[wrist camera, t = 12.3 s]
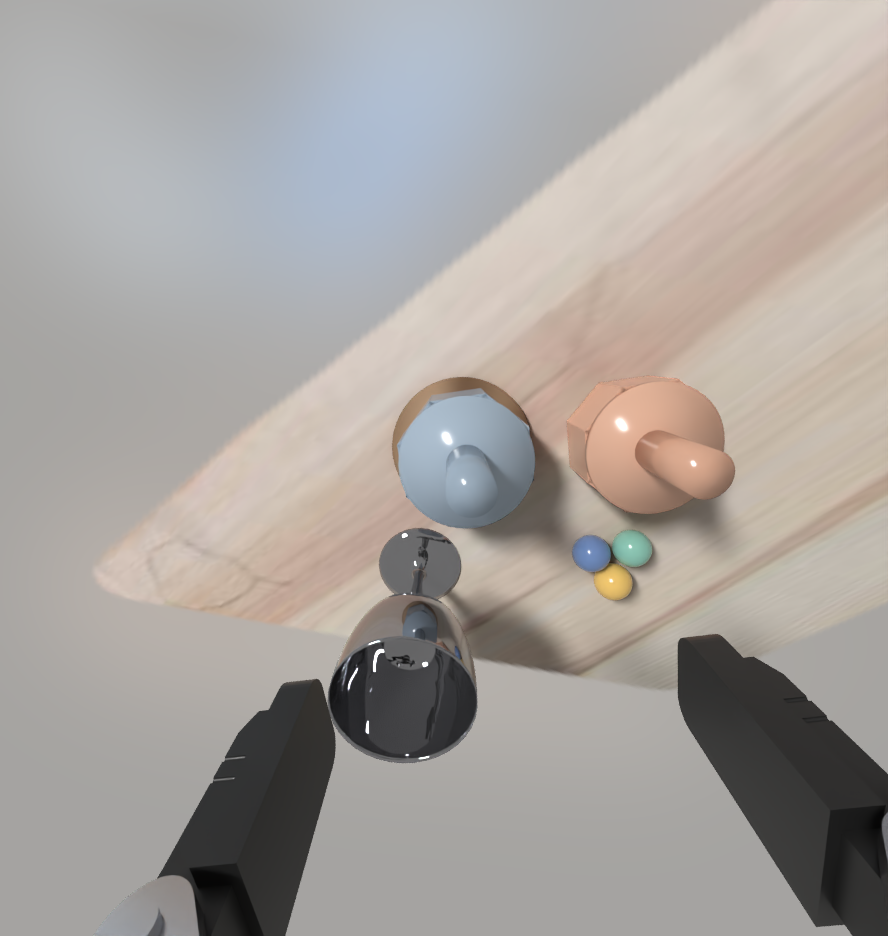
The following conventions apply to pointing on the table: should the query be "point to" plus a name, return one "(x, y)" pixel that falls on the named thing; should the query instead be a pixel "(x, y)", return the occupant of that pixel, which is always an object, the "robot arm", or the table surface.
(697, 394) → the terracotta cloche
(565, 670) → the table surface
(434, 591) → the wine glass
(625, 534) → the marble seagreen
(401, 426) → the disc
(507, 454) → the slate cloche
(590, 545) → the marble inkblue
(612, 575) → the marble amber
